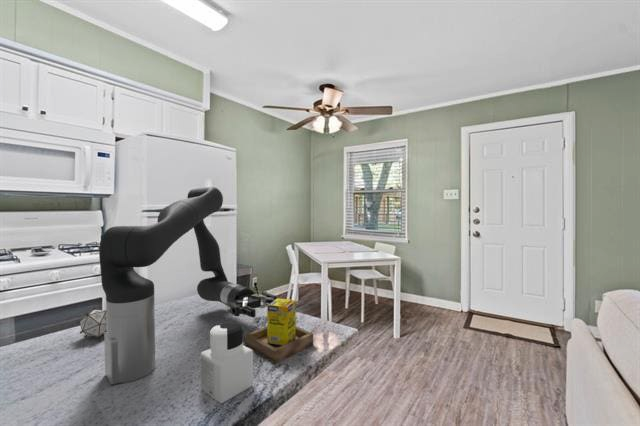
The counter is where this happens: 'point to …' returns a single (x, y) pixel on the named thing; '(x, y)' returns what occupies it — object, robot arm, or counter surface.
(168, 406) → the counter surface
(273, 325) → the supplement box
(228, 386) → the container
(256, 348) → the tray
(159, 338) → the counter surface
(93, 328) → the game die
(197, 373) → the counter surface
